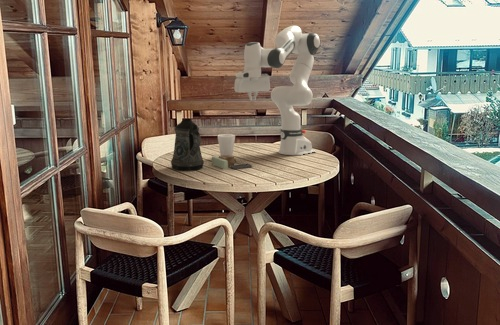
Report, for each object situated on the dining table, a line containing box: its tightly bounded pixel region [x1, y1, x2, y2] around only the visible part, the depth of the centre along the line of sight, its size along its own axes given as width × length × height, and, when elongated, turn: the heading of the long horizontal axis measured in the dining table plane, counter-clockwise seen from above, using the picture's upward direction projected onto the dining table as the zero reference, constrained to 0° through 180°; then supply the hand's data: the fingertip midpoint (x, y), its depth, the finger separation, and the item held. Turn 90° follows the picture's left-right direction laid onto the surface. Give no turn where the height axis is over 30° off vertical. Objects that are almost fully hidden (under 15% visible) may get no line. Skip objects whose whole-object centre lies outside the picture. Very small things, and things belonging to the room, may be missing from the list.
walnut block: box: [218, 155, 235, 168], centre depth 261 cm, size 6×6×5 cm
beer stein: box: [170, 118, 205, 172], centre depth 253 cm, size 16×19×25 cm
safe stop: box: [211, 155, 229, 170], centre depth 259 cm, size 2×14×4 cm, turn 30°
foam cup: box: [217, 133, 236, 156], centre depth 279 cm, size 10×9×13 cm
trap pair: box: [229, 158, 253, 170], centre depth 263 cm, size 10×21×1 cm, turn 31°
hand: (252, 100), depth 265 cm, fingers closed
